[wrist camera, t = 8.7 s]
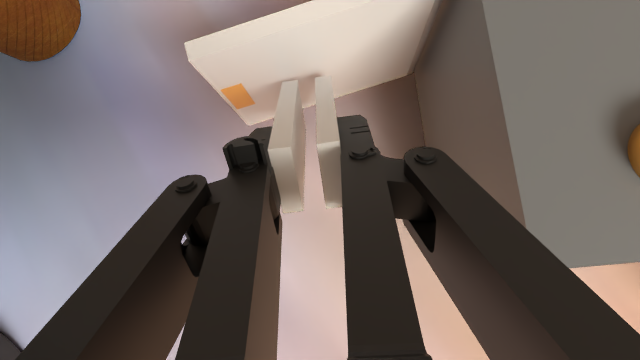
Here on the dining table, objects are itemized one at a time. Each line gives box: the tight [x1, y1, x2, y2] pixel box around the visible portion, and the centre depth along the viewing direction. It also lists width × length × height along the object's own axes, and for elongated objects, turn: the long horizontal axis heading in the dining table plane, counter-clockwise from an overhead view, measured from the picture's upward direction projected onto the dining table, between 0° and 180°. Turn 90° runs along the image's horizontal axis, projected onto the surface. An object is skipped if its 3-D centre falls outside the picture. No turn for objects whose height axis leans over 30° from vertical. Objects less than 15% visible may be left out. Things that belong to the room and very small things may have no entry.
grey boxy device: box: [414, 0, 640, 268], centre depth 16 cm, size 19×9×11 cm, turn 6°
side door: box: [184, 0, 443, 126], centre depth 17 cm, size 11×1×8 cm, turn 107°
